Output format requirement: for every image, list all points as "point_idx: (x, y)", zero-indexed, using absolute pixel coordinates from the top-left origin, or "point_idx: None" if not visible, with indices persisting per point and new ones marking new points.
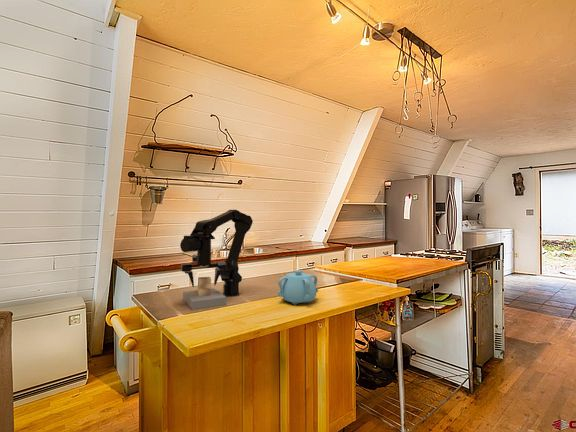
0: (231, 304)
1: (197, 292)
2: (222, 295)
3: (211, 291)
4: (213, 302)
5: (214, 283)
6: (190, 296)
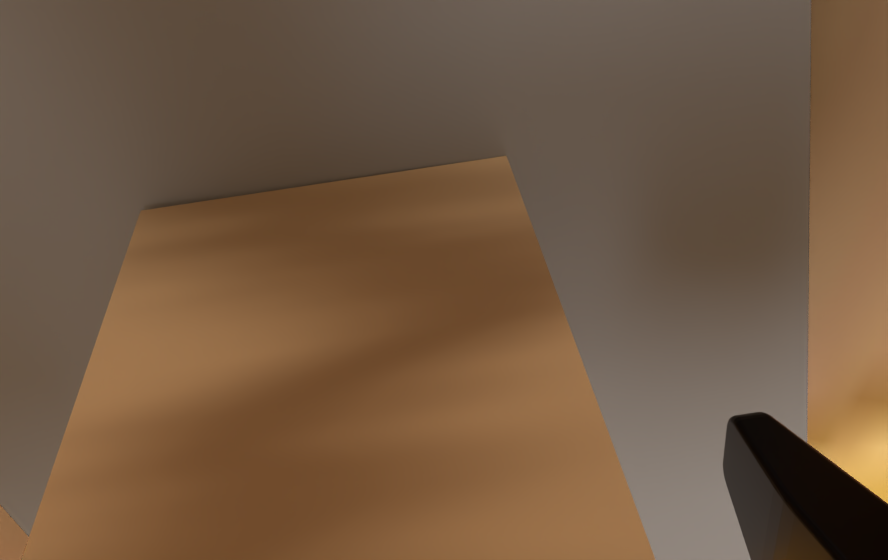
0: (839, 405)
1: (101, 57)
2: None
3: (595, 10)
4: None
5: (747, 507)
6: (15, 435)
